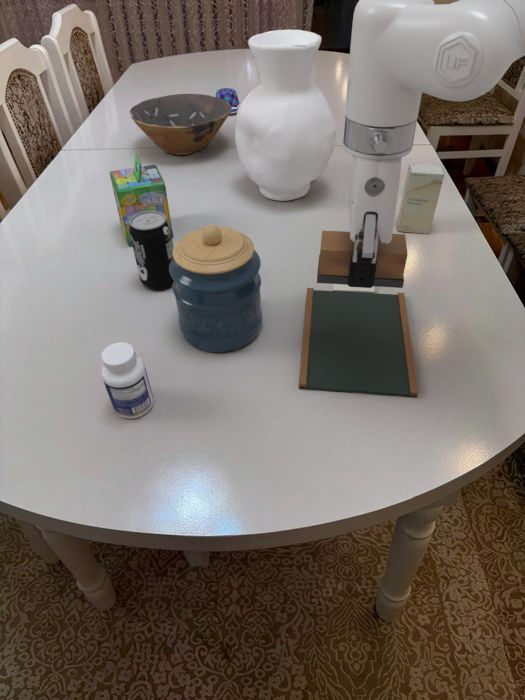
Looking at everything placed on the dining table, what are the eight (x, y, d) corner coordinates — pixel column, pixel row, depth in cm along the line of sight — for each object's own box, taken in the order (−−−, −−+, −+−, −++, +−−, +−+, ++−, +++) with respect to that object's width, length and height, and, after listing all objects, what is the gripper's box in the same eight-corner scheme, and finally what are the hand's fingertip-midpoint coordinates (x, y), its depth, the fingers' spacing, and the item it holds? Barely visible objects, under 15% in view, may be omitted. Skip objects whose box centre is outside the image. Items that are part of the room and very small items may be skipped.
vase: (279, 164, 122) (279, 19, 101) (348, 191, 110) (364, 35, 90) (222, 189, 112) (209, 36, 92) (291, 222, 101) (294, 56, 80)
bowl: (251, 152, 127) (249, 111, 120) (164, 177, 117) (156, 134, 111) (202, 123, 142) (199, 86, 135) (122, 144, 133) (113, 104, 126)
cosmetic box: (397, 232, 98) (409, 172, 89) (397, 220, 101) (408, 162, 92) (430, 234, 97) (445, 174, 88) (429, 222, 100) (442, 163, 92)
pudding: (210, 117, 146) (208, 98, 142) (205, 104, 154) (203, 86, 151) (250, 114, 147) (249, 95, 144) (243, 101, 156) (242, 83, 152)
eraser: (400, 265, 67) (406, 233, 64) (402, 288, 64) (409, 255, 60) (318, 261, 69) (320, 229, 65) (316, 283, 65) (318, 250, 61)
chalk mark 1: (353, 285, 86) (353, 282, 85) (353, 294, 84) (353, 290, 83) (332, 284, 86) (333, 281, 85) (332, 293, 84) (332, 289, 84)
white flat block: (373, 286, 85) (374, 282, 85) (374, 295, 84) (375, 291, 83) (353, 285, 86) (353, 281, 85) (353, 294, 84) (353, 290, 83)
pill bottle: (119, 389, 69) (102, 337, 62) (157, 389, 69) (144, 337, 62) (109, 419, 65) (89, 368, 59) (149, 420, 65) (135, 368, 58)
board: (403, 297, 83) (404, 292, 82) (417, 397, 67) (418, 392, 66) (307, 292, 84) (307, 287, 84) (298, 388, 69) (298, 384, 68)
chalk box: (120, 225, 102) (103, 153, 92) (165, 216, 104) (152, 145, 94) (128, 248, 96) (110, 173, 85) (174, 238, 98) (162, 165, 87)
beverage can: (133, 281, 88) (118, 220, 79) (162, 265, 91) (151, 205, 83) (157, 296, 84) (143, 234, 76) (186, 279, 88) (176, 218, 79)
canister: (219, 291, 85) (209, 194, 73) (279, 321, 79) (279, 221, 67) (163, 330, 78) (141, 231, 66) (223, 367, 72) (212, 265, 60)
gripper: (421, 167, 47) (391, 316, 59) (408, 107, 59) (386, 240, 72) (341, 165, 48) (329, 311, 60) (344, 105, 60) (333, 238, 72)
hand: (360, 271), depth 66 cm, fingers closed on eraser, 5 cm apart
